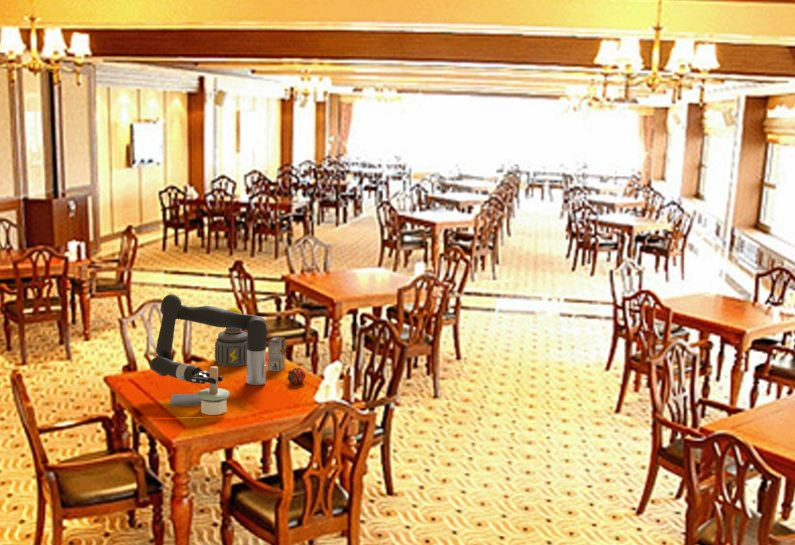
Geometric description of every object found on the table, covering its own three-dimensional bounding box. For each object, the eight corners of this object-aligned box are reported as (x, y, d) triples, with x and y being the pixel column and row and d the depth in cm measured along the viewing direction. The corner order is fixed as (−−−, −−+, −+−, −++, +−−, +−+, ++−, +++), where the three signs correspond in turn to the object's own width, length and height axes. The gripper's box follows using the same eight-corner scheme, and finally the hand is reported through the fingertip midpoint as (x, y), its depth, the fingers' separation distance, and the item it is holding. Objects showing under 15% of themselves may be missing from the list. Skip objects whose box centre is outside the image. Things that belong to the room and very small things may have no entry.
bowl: (225, 406, 392) (226, 394, 391) (226, 415, 381) (226, 402, 380) (201, 407, 389) (201, 394, 388) (201, 416, 379) (201, 403, 378)
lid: (229, 389, 392) (229, 362, 390) (229, 400, 379) (230, 372, 376) (197, 390, 389) (197, 362, 386) (197, 401, 376) (197, 372, 373)
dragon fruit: (290, 390, 424) (298, 386, 435) (304, 381, 422) (311, 377, 434) (282, 375, 424) (289, 371, 436) (296, 366, 423) (303, 363, 434)
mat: (206, 394, 407) (206, 393, 406) (206, 406, 391) (206, 405, 391) (171, 395, 403) (171, 394, 403) (170, 407, 388) (170, 406, 388)
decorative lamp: (251, 366, 452) (252, 311, 446) (215, 367, 447) (215, 311, 442) (249, 356, 470) (250, 303, 464) (214, 357, 465) (214, 303, 460)
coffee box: (273, 365, 456) (274, 336, 453) (285, 366, 455) (285, 337, 452) (267, 370, 447) (268, 340, 444) (279, 371, 446) (279, 341, 443)
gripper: (178, 369, 382) (208, 376, 374) (199, 361, 394) (229, 368, 387) (178, 385, 383) (208, 392, 376) (199, 377, 396) (228, 384, 388)
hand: (218, 380), depth 381 cm, fingers closed on lid, 3 cm apart
